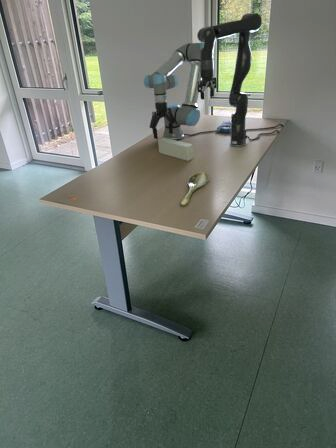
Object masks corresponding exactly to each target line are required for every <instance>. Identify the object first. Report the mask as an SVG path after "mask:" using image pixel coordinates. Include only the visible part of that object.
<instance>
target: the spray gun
mask: <svg viewBox="0 0 336 448" xmlns="http://www.w3.org/2000/svg"><path fill="white" fill-rule="evenodd" d="M216 130H217V131H218V132H219V133H226V134H229V133H231V120H228V121H222V123H221V124H220V125H218V127H216Z"/></svg>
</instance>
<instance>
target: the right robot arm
mask: <svg viewBox="0 0 336 448" xmlns="http://www.w3.org/2000/svg"><path fill="white" fill-rule="evenodd" d="M262 23H263V21H262V17H261V15H260V14H259V13H258V12H250V13H244V14H243V15H242V17H241V18H240V19H238V20H231V21H226V22H222V23H218V24H215V25H211V26H210V25H209V26H205V27H202V28H200V29H199V30H198V32H197V36H196V37H197V40H198V42H199V43H201V42H202V43H204V48H202V49H201V51H200V57H201V62H200V75H201V78H202V79H201V81H198V92H199V94H200V100H205V92H206V90H207V88H209V96H210V97H211V98H213V97H215V89H217V86H218V85H217V77H215V75H214V73H215V71H214V49H215V43H216V40H219V39H223V38H226V37H231V36H233V35H237V34H238V44H237V51H236V58H235V65H234V72H233V78H232V84H231V88H230V92H229V96H228V104H229V106H230V107H232V108H235V112H232V113H231V115H230V122H231V132H230V146H231V147H236V148H237V147H243V146H245V145H246V144H247V139H248V140H249V141H256V140H257V139H259V138H260V136H261V135H272V134H274V133H276V132H277V133H279V132H280V130H279V129H275V130H273V131H271V132H261V133H258V134H257V137H255V138H250V137H249V136H248V135H247V130H245V129H246V116H247V113H248V106H249V97H248V94H246V93H245V92H241V91H242V86H243V83H244V81H245V79H246V78H247V76H248V75H249V73H250V70H251V66H252V62H253V61H252V60H253V54H252V50H251V46H250V36H251V33H254V32H257V31H258V30H259V29H260V28H261V27H262Z"/></svg>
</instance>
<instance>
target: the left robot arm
mask: <svg viewBox="0 0 336 448" xmlns="http://www.w3.org/2000/svg"><path fill="white" fill-rule="evenodd" d="M202 48H204V42H188V43H184V44H183V45H181V46H180V47H178V48H177V49H175V50H174V51H173V52H172V54H171V56H170V57H169V58H168V59H167V60H166V61H165V62H164V63H163V64H162V65H160V66H159V67H158V68H157V69H156V70H155V71H154V72H153V73H152V74H148V75H145V76H144V78H143V85H144V87H146V88H149V89H153V95H154V102H155V103H154V108H155V111H152V112H151V119H150V123H149V129H151V130H152V134H153V139H155V140H159V137H158V128H157V126H158V124H159V121H160V120H161V119H162V118H163V122H164V130H163V135H162V138H168V139H172V140H176V141H180V140H182V139H184V137H185V136H189V137H193V136H196V135H199V134H207V133H216V132H219V131H217V129H216V130H215V129H214V130H207V131H200V132H196V133H192V134H189V133H184V132H183V129H182V126H187V127H195V126H196V125H197V124H198V123H199V121H200V118H201V111H200V109H199V105H198V99H199V94H200V92H198V81H202V78H201V75H200V62H201V57H200V51H201V49H202ZM184 63H189V65H190V69H189V70H190V71H189V76H188V81H187V86H186V92H185V98H184V101H183V102H182V103H181V106H180V104H171V105H168V102H167V101H168V98H167V97H168V96H167V95H168V94H167V90H170V89H171V90H172V89H174V88H176V87H177V86H178V85H179V79H178V77H177V76H176V74H172V73H173V72H174V71H175V70H176V69H177V68H178V67H179V66H182V65H184ZM279 126H281V127H284V125H283V123H282V124H281V123H278V124H276V125H275V126H269V127H259V128H245V130H246V131H258V130H269V129H275V128H277V127H279Z"/></svg>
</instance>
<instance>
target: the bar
mask: <svg viewBox="0 0 336 448" xmlns="http://www.w3.org/2000/svg"><path fill="white" fill-rule="evenodd" d="M157 143H158V152H159V154H161V155H165V156H169V157H172V158H177V159H179V160H183V161H187V162H189V161H191V160H194V155H195V154H194V144H193V143H188V142H184V141H180V140H172V139H168V138H163V137H162V138H158V139H157Z"/></svg>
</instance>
